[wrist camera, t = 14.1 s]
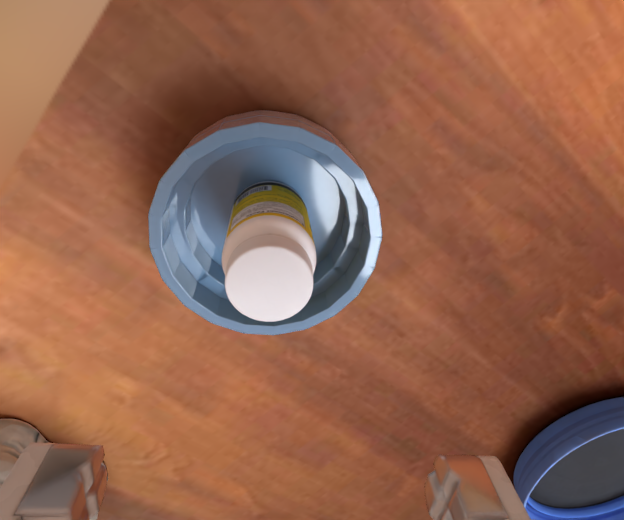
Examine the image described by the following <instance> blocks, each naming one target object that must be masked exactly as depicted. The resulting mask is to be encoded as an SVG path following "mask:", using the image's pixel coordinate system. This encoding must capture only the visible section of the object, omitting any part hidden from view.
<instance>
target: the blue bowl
mask: <svg viewBox="0 0 624 520" xmlns="http://www.w3.org/2000/svg"><path fill="white" fill-rule="evenodd" d="M263 181H274V182H279V183H283V184H285V185H287V186H289V187H291V188H292V189H294V190H295V191H296V192H297V193H298V194H299V195H300V196H301V198H302V199H303V201H304V203H305V205H306V208H307V212H308V217H309V221H310V226H311V230H312V236H313V240H314V244H315V249H316V267H315V271H314V274H313V291H312V294H311V297H310V299H309V301H308V302H307V304H306V305H305V306H304V307H303V309H301V310H300V311H299V312H298V313H296V314H295V315H293V316H291V317H289V318H287V319H284V320H280V321H275V322H265V321H258V320H254V319H252V318H249V317H247V316H245V315H243V314H242V313H240V312H239V311H238V310H237V309H236V308H235V307H234V306H233V305H232V303H231V302H230V300H229V298H228V296H227V294H226V290H225V274H224V271H223V267H222V251H223V247H224V243H225V238H226V234H227V230H228V225H229V220H230V215H231V210H232V207H233V204H234V202H235V200H236V198H237V197H238V195H239V194H240V193H241V192H242V191H243V190H244V189H246V188H247V187H249V186H251V185H253V184H255V183H258V182H263ZM148 224H149V247H150V251H151V253H152V255H153V258H154V260H155V263H156V265H157V268H158V270H159V273H160V275H161V278H162V279H163V281H164V282H165V283H166V285H167V286H168V287H169V288H170V289H171V291H172V292H173V293H174V294H175V295H176V296H177V298H178V299H179V300H180V301H181V302H182V304H184V306H186V307H187V308H189V309H190V310H192V311H193V312H195V313H197V314H198V315H200V316H201V317H203V318H204V319H206V320H207V321H209V322H210V323H211V322H212V323H213V324H216V325H219V326H222V327H225V328H228V329H231V330H234V331H237V332H240V333H242V332H243V333H246V334H262V335H279V334H284V333H289V332H294V331H300V330H305V329H308V328H310V327H312V326H314V325H316V324H318V323H320V322H322V321H325V320H327V319H329V318H331V317H333V316H335V315H336V314H337V313H338V312H340V311H341V310H342V309H343V308H344V307H345V306H346V305H347V304H349V303H350V302H351V301H352V300H353V299H354V298H355V297H357V296H358V294H359V293H360V291H361V290H362V288H363V286H364V285H365V283H366V282H367V280H368V278H369V277H370V275H371V273H372V272H373V270H374V268H375V266H376V261H377V257H378V253H379V249H380V244H381V240H382V227H381V217H380V208H379V202H378V200H377V198H376V196H375V194H374V192H373V190H372V188H371V186H370V184H369V182H368V179H367V177H366V175H365V173H364V172H363V170H362V169H361V167H360V166H359V164H358V163H357V161H356V160H355V158H354V157H353V155H352V154H351V152H350V151H349V150H348V149H347V148H346V147H345V146H344V145H343V144H342V143H341V142H340V141H339V140H338V139H337V138H336V137H335V136H334V135H333V134H332V133H331V132H330V131H328V130H327V129H325V128H323V127H321V126H319V125H317V124H315V123H313V122H311V121H309V120H307V119H305V118H303V117H301V116H299V115H296V114H291V113H283V112H275V111H268V110H257V111H252V112H247V113H242V114H237V115H232V116H227V117H224V118H223V119H221V120H219V121H218V122H216V123H214V124H213V125H211V126H209V127H208V128H206V129H204V130H202V131H201V132H199V133H197V135H195V136H194V137H193V139H192V140H191V141H190V142H189V144H188V145H187V146H186V147H185V148H184V150H183V151H182V152H181V153H180V155H179V156H178V157H177V158H176V159H175V161H174V162H173V163H172V164H171V166H170V167H169V168H168V170H167V171H166V172H165V173H164V175H163V176H162V177H161V179H160V180H159V183H158V186H157V189H156V192H155V195H154V198H153V201H152V204H151V207H150V210H149V215H148Z"/></svg>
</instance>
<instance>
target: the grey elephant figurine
mask: <svg viewBox="0 0 624 520" xmlns="http://www.w3.org/2000/svg"><path fill="white" fill-rule="evenodd" d="M31 442H36V443H50V442H48V441H47V440H46V439H45V438H44V437H43V436H42V435H41V434H40V432H39V431H38V430H37V429H36V428H34V427H33V426H31V425H30V424H28V423H26V422H23V421H21V420H17V419H0V488H1V486H2V484H3V483H4V481H5V479H6V478H7V476H8V474H9V473H10V471H11V470H12V468H13V466H14V465H15V463H16V461H17V460H18V458H19V456H20V455H21V453H22V451H23V450H24V449H25V448H26V447H27V446H28V445H29V444H30V443H31ZM101 464H102V465H104V466H105V464H104V463H103V462H102V463H101ZM105 467H106V466H105ZM107 481H108V474H107ZM97 517H98V513H97V514H96V515H94V516H93V517H92V518H91V519H90V520H97Z"/></svg>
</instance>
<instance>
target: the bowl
mask: <svg viewBox="0 0 624 520" xmlns="http://www.w3.org/2000/svg"><path fill="white" fill-rule="evenodd" d="M514 487H515V490H516V492H517V494H518V496H519V498H520V500H521V502H522V504H523V506H524V507H525V509H526V511H527V513H528V515H529V517H530V519H532V520H624V397H618V398H613V399H608V400H603V401H600V402H596V403H593V404H590V405H587V406H585V407H582V408H580V409H577V410H575V411H573V412H571V413H569V414H567V415H565V416H563V417H561V418H560V419H558V420H557V421H555V422H553V423H552V424H550V425H549V426H548V427H546V428H545V429H544V430H543V431H541V432H540V433H539V434H538V435H537V436H536V437H535V438H534V439H533V440H532V441H531V442H530V443H529V444H528V445H527V447H526V448H525V449H524V451H523V452H522V454H521V455H520V457H519V459H518V461H517V464H516V467H515V470H514Z"/></svg>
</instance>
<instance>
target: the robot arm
mask: <svg viewBox="0 0 624 520" xmlns="http://www.w3.org/2000/svg"><path fill="white" fill-rule="evenodd" d="M104 455H105V454H104V449H103V446H100V445H80V444H60V443H36V442H31V443H30V444H29V445H28V446H27V447H26V448H25V449H24V450H23V451H22V453H21V455H20V456H19V458H18V460H17V461H16V463H15V465H14V466H13V468H12V470H11V471H10V473H9V474H8V476H7V478H6V479H5V481H4V483H3V484H2V486H1V488H0V520H90V519H91V518H92V517H93V516H94V515H96V514H97V513H98V512H99V509H100V507H101V504H102V501H103V498H104V493H105V489H106V484H107V469H106V467H105V466H104V465H102V464H101V463H102V461H103V458H104ZM433 465H434V468H435V471H433V472H432V473H430V474H429V475H428V477H427V479H426V482H425V500H426V505H427V509H428V512H429V515H430V516H431V517H432V518H433V519H434V520H532V519H530V517H529V515H528V513H527V511H526V509H525V507H524V506H523V504H522V502H521V500H520V498H519V496H518V494H517V492H516V490H515V488H514V487H513V485H512V483H511V481H510V479H509V477H508V475H507V473H506V471H505V470H504V468H503V466H502V464H501V462H500V460H499V459H498V458H497V457H496V456H475V455H438V456H437V457H436V458H435V460H434V462H433Z"/></svg>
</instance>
